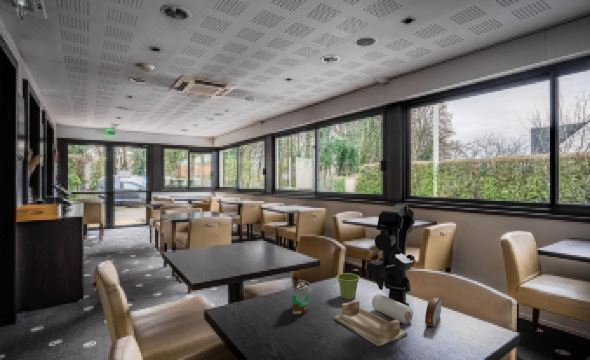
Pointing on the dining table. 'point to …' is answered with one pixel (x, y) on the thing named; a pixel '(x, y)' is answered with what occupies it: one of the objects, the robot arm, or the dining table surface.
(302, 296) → the food container
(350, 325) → the holder
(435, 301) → the tin
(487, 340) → the dining table surface
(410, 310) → the paper roll
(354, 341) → the dining table surface
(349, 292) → the plant pot
